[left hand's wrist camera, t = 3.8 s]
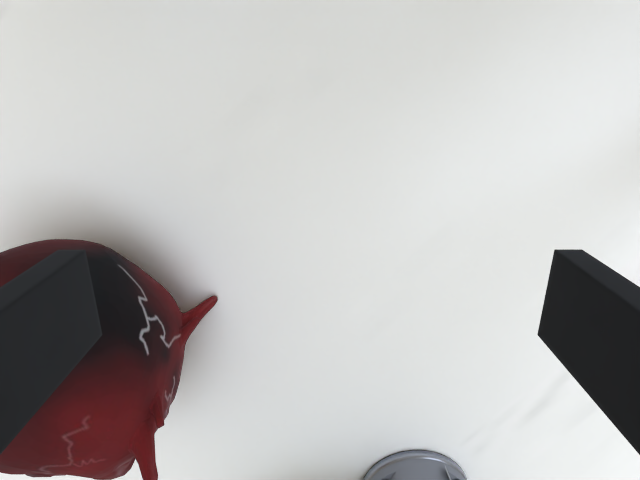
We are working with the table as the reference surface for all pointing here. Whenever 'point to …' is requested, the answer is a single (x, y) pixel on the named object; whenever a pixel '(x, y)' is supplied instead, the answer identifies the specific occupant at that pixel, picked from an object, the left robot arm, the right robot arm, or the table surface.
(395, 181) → the table surface
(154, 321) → the decorative skull
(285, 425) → the table surface
